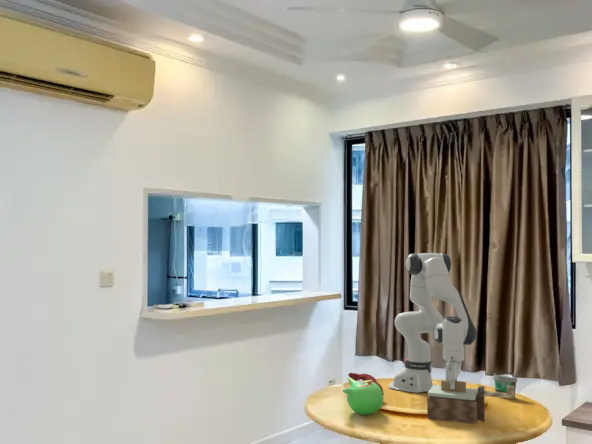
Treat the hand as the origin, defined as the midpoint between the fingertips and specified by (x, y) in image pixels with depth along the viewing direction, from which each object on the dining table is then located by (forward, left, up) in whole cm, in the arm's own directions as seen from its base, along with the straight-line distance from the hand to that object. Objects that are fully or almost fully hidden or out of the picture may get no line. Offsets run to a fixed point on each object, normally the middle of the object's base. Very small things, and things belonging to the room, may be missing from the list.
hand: (453, 387), depth 258 cm
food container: (+17, +42, -13) cm, 47 cm away
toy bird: (-37, -10, -13) cm, 40 cm away
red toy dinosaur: (-43, +20, -13) cm, 49 cm away
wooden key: (+18, 0, -2) cm, 18 cm away
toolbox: (+1, 0, -12) cm, 12 cm away
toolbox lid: (0, 0, -3) cm, 2 cm away
